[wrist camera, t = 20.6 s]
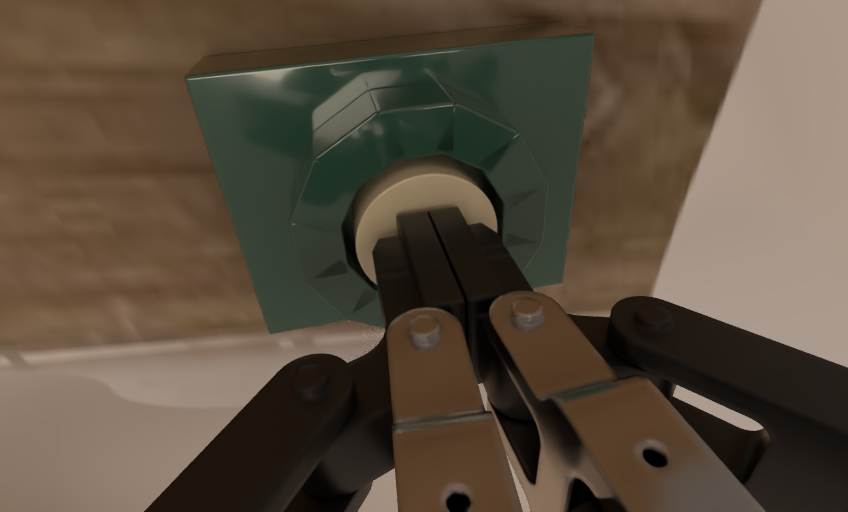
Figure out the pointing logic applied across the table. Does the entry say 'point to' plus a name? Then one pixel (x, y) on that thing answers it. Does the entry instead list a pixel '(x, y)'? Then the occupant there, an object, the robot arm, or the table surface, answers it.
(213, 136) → the button base
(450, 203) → the button
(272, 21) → the table surface
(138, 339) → the table surface
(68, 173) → the table surface
